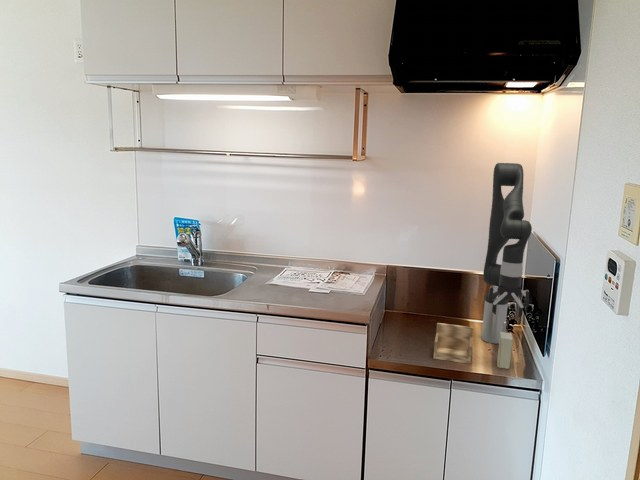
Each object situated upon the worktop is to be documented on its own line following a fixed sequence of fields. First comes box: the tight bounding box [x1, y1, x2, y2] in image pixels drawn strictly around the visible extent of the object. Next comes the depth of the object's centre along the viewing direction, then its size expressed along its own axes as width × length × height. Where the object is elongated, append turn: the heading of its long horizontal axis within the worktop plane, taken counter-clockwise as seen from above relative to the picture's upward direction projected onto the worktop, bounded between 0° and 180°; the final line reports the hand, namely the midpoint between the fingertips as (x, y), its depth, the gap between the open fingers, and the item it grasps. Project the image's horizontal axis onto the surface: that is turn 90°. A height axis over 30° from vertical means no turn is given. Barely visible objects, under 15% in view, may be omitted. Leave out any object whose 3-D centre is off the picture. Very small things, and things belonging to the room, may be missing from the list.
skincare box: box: [496, 331, 514, 370], centre depth 191 cm, size 6×4×12 cm
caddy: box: [433, 322, 474, 365], centre depth 198 cm, size 14×10×11 cm
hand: (506, 315), depth 188 cm, fingers open, 8 cm apart
